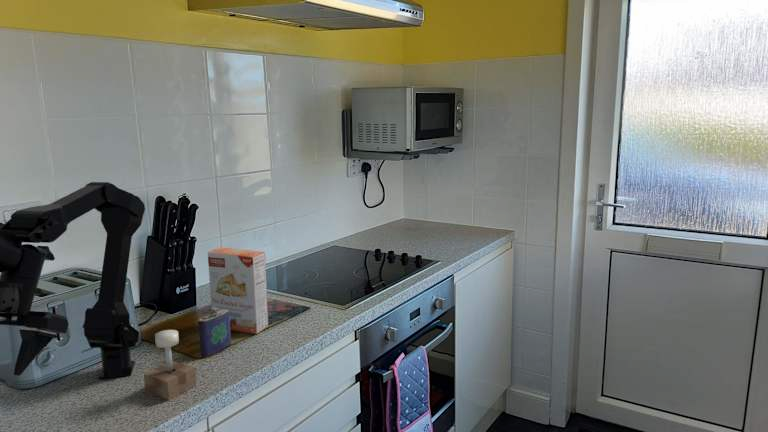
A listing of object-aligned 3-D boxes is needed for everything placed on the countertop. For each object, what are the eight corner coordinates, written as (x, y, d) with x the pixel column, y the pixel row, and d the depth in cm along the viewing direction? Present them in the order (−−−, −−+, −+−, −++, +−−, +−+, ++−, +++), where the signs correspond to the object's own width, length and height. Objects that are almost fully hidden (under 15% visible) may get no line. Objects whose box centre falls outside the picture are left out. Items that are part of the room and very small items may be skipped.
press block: (145, 392, 113) (143, 374, 113) (173, 378, 119) (171, 360, 119) (169, 400, 110) (167, 381, 109) (196, 385, 116) (195, 367, 115)
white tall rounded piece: (153, 373, 113) (150, 335, 112) (170, 365, 117) (167, 328, 115) (168, 378, 111) (165, 339, 110) (185, 369, 115) (182, 332, 113)
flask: (225, 342, 138) (223, 301, 136) (235, 344, 137) (232, 303, 135) (197, 356, 130) (194, 313, 128) (207, 359, 129) (204, 315, 127)
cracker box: (211, 328, 147) (206, 251, 143) (225, 320, 152) (221, 246, 149) (256, 335, 142) (252, 256, 138) (269, 327, 147) (265, 250, 144)
